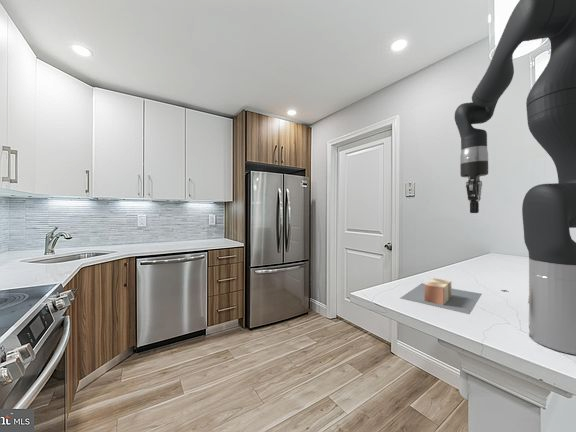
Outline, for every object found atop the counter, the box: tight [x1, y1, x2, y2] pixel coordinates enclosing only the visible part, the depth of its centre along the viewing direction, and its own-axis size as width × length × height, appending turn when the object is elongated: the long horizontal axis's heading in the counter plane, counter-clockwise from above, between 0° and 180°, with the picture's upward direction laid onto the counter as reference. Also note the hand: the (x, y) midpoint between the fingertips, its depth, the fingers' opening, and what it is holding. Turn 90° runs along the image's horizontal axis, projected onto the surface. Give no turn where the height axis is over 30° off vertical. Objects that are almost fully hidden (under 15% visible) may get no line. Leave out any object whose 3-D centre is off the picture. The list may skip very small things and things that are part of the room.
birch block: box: [424, 277, 452, 305], centre depth 76 cm, size 5×5×10 cm
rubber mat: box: [399, 283, 482, 315], centre depth 79 cm, size 18×22×1 cm
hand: (474, 213), depth 83 cm, fingers closed
